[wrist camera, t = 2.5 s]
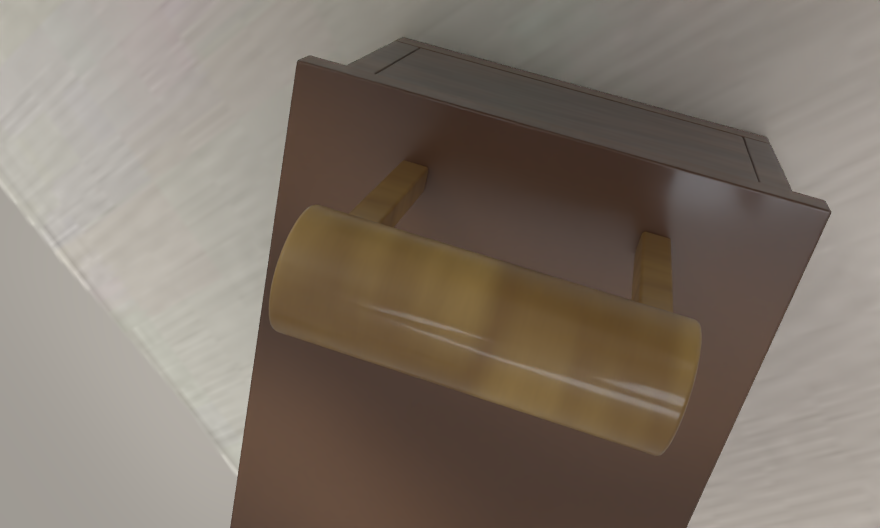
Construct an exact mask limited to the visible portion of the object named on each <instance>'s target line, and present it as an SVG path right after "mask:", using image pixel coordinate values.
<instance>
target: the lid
mask: <svg viewBox="0 0 880 528" xmlns="http://www.w3.org/2000/svg"><path fill="white" fill-rule="evenodd" d="M830 214H831V210H830V208H829V207H828V205H827V203H826V201H824V200H821V199H818V198H814V197H810V196H807V195H803V194H800V193H796V192H793V191H789V190H786V189H782V188H779V187H775V186H771V185H768V184H764V183H761V182H757V181H754V180H750V179H747V178H743V177H739V176H736V175H732V174H729V173H725V172H722V171H718V170H715V169H711V168H708V167H704V166H700V165H697V164H693V163H690V162H686V161H683V160H679V159H676V158H672V157H669V156H665V155H661V154H658V153H654V152H651V151H647V150H644V149H640V148H637V147H633V146H629V145H626V144H622V143H619V142H615V141H612V140H608V139H605V138H601V137H598V136H594V135H590V134H587V133H583V132H580V131H576V130H573V129H569V128H566V127H562V126H559V125H555V124H551V123H548V122H544V121H541V120H537V119H534V118H530V117H527V116H523V115H519V114H516V113H512V112H509V111H505V110H502V109H498V108H495V107H491V106H488V105H484V104H480V103H477V102H473V101H470V100H466V99H463V98H459V97H456V96H452V95H449V94H445V93H441V92H438V91H434V90H431V89H427V88H424V87H420V86H417V85H413V84H409V83H406V82H402V81H399V80H395V79H392V78H388V77H385V76H381V75H378V74H374V73H370V72H367V71H363V70H360V69H356V68H353V67H349V66H346V65H342V64H339V63H335V62H331V61H328V60H324V59H321V58H317V57H314V56H307V57H305V58H302V59H300V60H298V61H297V66H296V73H295V80H294V87H293V93H292V100H291V107H290V114H289V121H288V128H287V135H286V142H285V149H284V156H283V163H282V170H281V177H280V184H279V191H278V198H277V205H276V212H275V219H274V226H273V233H272V240H271V247H270V254H269V261H268V268H267V275H266V282H265V289H264V296H263V303H262V310H261V317H260V324H259V331H258V338H257V345H256V352H255V359H254V366H253V373H252V380H251V387H250V394H249V401H248V408H247V415H246V422H245V429H244V436H243V443H242V450H241V457H240V464H239V471H238V478H237V486H236V492H235V499H234V506H233V513H232V520H231V527H230V528H686V527H687V525H688V523H689V521H690V519H691V516H692V514H693V512H694V510H695V508H696V506H697V503H698V501H699V499H700V497H701V495H702V493H703V490H704V488H705V486H706V484H707V482H708V480H709V477H710V475H711V473H712V471H713V469H714V467H715V464H716V462H717V460H718V458H719V456H720V453H721V451H722V449H723V447H724V445H725V443H726V440H727V438H728V436H729V434H730V432H731V430H732V427H733V425H734V423H735V421H736V419H737V417H738V414H739V412H740V410H741V408H742V406H743V403H744V401H745V399H746V397H747V395H748V393H749V390H750V388H751V386H752V384H753V382H754V380H755V377H756V375H757V373H758V371H759V369H760V367H761V364H762V362H763V360H764V358H765V356H766V353H767V351H768V349H769V347H770V345H771V343H772V340H773V338H774V336H775V334H776V332H777V330H778V327H779V325H780V323H781V321H782V319H783V317H784V314H785V312H786V310H787V308H788V306H789V304H790V301H791V299H792V297H793V295H794V293H795V290H796V288H797V286H798V284H799V282H800V280H801V277H802V275H803V273H804V271H805V269H806V267H807V264H808V262H809V260H810V258H811V256H812V254H813V251H814V249H815V247H816V245H817V243H818V240H819V238H820V236H821V234H822V232H823V230H824V227H825V225H826V223H827V221H828V219H829V217H830Z"/></svg>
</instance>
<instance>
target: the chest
mask: <svg viewBox="0 0 880 528" xmlns="http://www.w3.org/2000/svg"><path fill="white" fill-rule="evenodd" d="M346 66H349V67H353V68H356V69H360V70H363V71H367V72H370V73H374V74H378V75H381V76H385V77H388V78H392V79H395V80H399V81H402V82H406V83H409V84H413V85H417V86H420V87H424V88H427V89H431V90H434V91H438V92H441V93H445V94H449V95H452V96H456V97H459V98H463V99H466V100H470V101H473V102H477V103H480V104H484V105H488V106H491V107H495V108H498V109H502V110H505V111H509V112H512V113H516V114H519V115H523V116H527V117H530V118H534V119H537V120H541V121H544V122H548V123H551V124H555V125H559V126H562V127H566V128H569V129H573V130H576V131H580V132H583V133H587V134H590V135H594V136H598V137H601V138H605V139H608V140H612V141H615V142H619V143H622V144H626V145H629V146H633V147H637V148H640V149H644V150H647V151H651V152H654V153H658V154H661V155H665V156H669V157H672V158H676V159H679V160H683V161H686V162H690V163H693V164H697V165H700V166H704V167H708V168H711V169H715V170H718V171H722V172H725V173H729V174H732V175H736V176H739V177H743V178H747V179H750V180H754V181H757V182H761V183H764V184H768V185H771V186H775V187H779V188H782V189H786V190H789V191H792V189H791V187H790V185H789V183H788V181H787V178H786V176H785V174H784V172H783V170H782V168H781V166H780V163H779V161H778V159H777V157H776V155H775V153H774V150H773V148H772V146H771V145H770V142H769V140H768V138H767V137H764V136H760V135H757V134H753V133H749V132H746V131H742V130H738V129H735V128H731V127H727V126H724V125H720V124H717V123H713V122H709V121H706V120H702V119H698V118H695V117H691V116H687V115H684V114H680V113H677V112H673V111H669V110H666V109H662V108H658V107H655V106H651V105H647V104H644V103H640V102H636V101H633V100H629V99H626V98H622V97H618V96H615V95H611V94H607V93H604V92H600V91H596V90H593V89H589V88H586V87H582V86H578V85H575V84H571V83H567V82H564V81H560V80H556V79H553V78H549V77H546V76H542V75H538V74H535V73H531V72H527V71H524V70H520V69H516V68H513V67H509V66H505V65H502V64H498V63H495V62H491V61H487V60H484V59H480V58H476V57H473V56H469V55H465V54H462V53H458V52H455V51H451V50H447V49H444V48H440V47H436V46H433V45H429V44H425V43H422V42H418V41H414V40H411V39H407V38H404V37H403V38H400V39H398V40H396V41H394V42H392V43H390V44H388V45H386V46H384V47H382V48H380V49H378V50H376V51H374V52H372V53H370V54H368V55H366V56H364V57H362V58H360V59H358V60H356V61H354V62H352V63H350V64H348V65H346Z"/></svg>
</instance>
